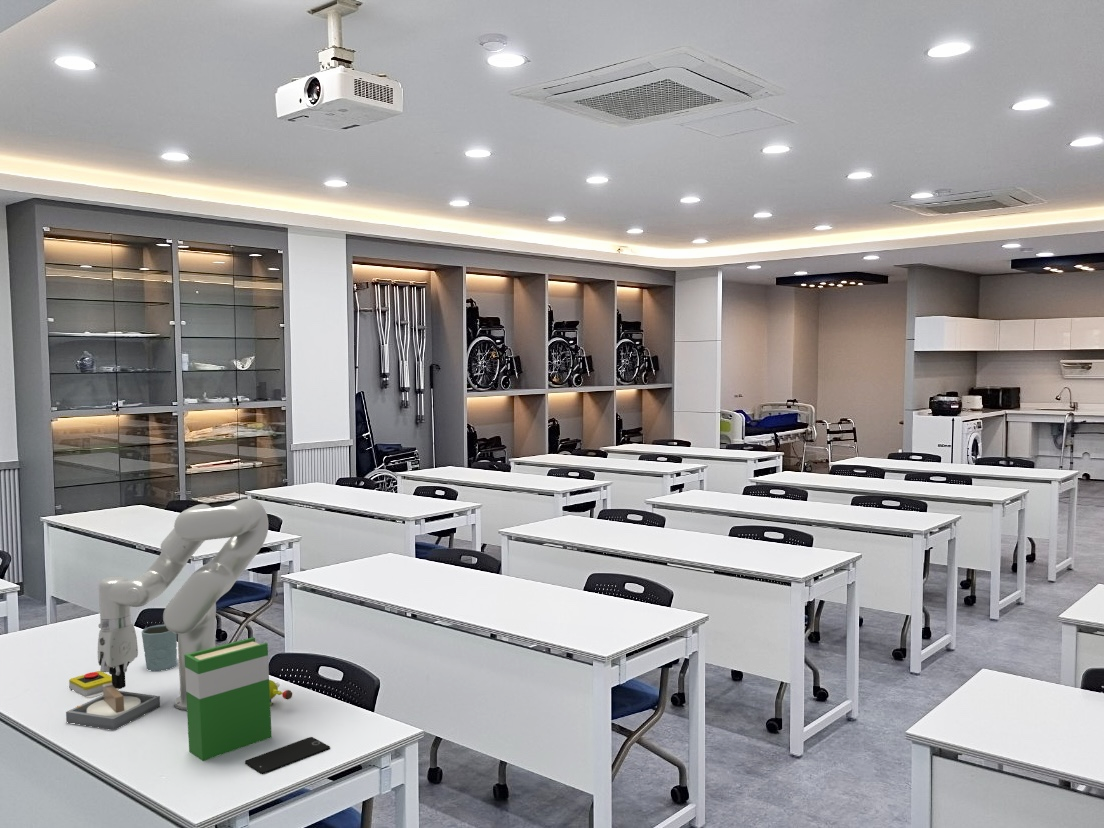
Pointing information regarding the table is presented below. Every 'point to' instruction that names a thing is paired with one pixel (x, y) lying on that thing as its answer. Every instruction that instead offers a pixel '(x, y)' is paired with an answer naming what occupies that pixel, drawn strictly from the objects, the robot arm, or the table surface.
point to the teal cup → (159, 648)
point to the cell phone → (286, 755)
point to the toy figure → (274, 691)
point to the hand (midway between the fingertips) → (118, 687)
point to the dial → (113, 702)
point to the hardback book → (227, 697)
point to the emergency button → (90, 684)
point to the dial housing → (112, 723)
